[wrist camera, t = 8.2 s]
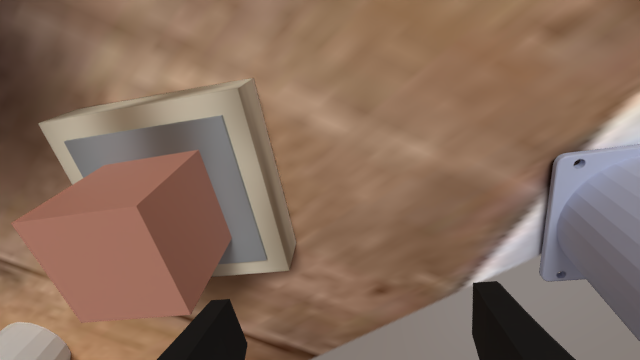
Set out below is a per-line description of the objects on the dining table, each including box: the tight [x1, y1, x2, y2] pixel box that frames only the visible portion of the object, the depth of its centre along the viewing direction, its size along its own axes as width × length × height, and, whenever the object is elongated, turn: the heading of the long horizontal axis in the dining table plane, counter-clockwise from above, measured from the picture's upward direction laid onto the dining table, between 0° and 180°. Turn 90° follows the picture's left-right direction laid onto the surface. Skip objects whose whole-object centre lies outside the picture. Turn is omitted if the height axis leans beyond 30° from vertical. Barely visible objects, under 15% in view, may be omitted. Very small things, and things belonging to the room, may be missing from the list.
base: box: [38, 78, 296, 277], centre depth 18 cm, size 10×10×3 cm
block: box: [11, 150, 232, 323], centre depth 15 cm, size 5×5×5 cm
